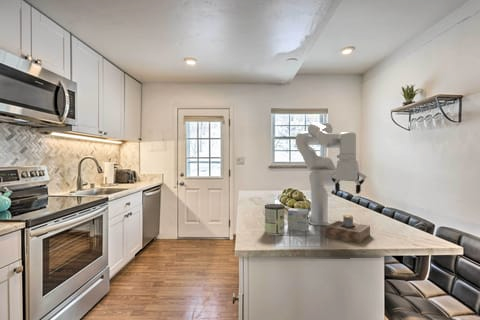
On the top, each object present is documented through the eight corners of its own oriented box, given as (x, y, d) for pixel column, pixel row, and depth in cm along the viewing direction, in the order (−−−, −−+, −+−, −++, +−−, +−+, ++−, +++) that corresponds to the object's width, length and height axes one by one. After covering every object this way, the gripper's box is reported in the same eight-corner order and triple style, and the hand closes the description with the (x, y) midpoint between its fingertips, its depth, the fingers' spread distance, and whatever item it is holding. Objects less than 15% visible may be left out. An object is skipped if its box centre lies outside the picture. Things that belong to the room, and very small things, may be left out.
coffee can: (268, 229, 144) (268, 203, 144) (286, 231, 140) (286, 204, 140) (261, 234, 135) (261, 206, 135) (281, 236, 130) (281, 207, 130)
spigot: (341, 234, 130) (341, 216, 130) (345, 232, 133) (345, 214, 133) (351, 236, 127) (351, 217, 127) (354, 234, 130) (354, 215, 130)
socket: (325, 236, 129) (325, 226, 129) (337, 230, 141) (337, 220, 141) (359, 243, 119) (359, 232, 119) (370, 235, 131) (370, 225, 131)
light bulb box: (308, 228, 145) (308, 208, 145) (307, 231, 139) (307, 211, 139) (289, 227, 149) (289, 207, 149) (287, 230, 142) (287, 210, 142)
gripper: (327, 157, 133) (327, 191, 133) (364, 157, 122) (363, 194, 122) (333, 157, 139) (333, 190, 139) (368, 157, 127) (368, 193, 127)
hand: (347, 192), depth 130 cm, fingers open, 9 cm apart
